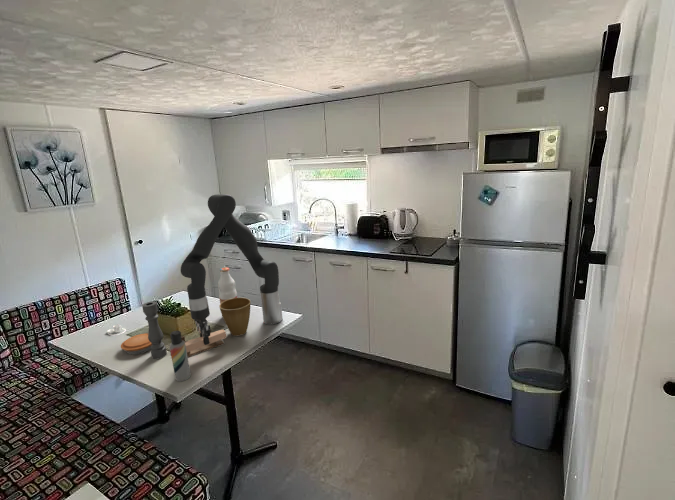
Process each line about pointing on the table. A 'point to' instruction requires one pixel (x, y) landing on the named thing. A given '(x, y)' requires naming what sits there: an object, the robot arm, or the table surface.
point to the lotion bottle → (179, 356)
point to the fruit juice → (226, 286)
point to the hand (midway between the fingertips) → (205, 342)
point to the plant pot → (236, 315)
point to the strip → (200, 343)
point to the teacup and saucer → (115, 330)
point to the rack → (203, 346)
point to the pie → (137, 344)
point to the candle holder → (154, 330)
